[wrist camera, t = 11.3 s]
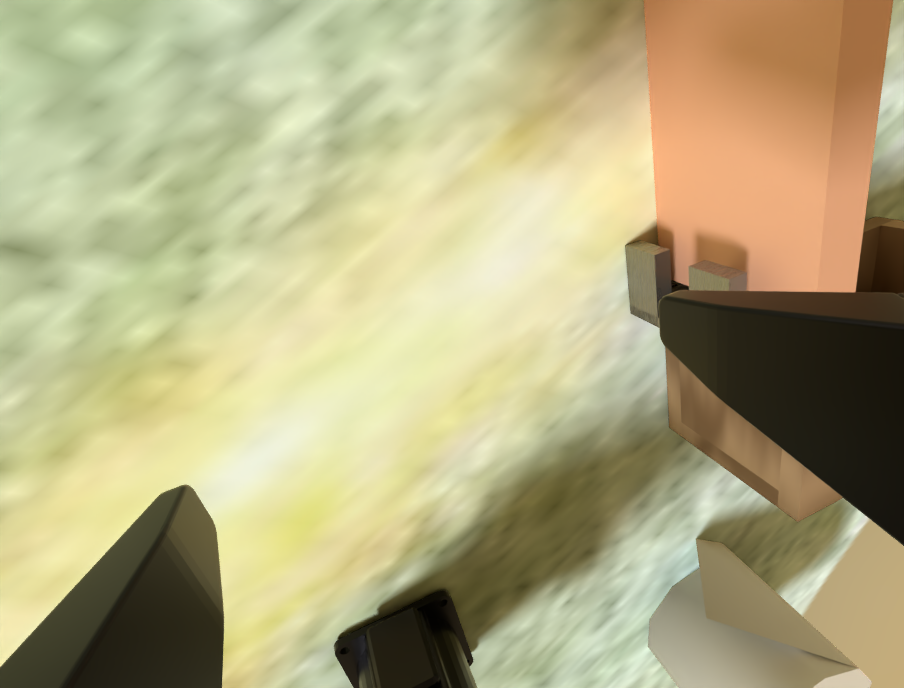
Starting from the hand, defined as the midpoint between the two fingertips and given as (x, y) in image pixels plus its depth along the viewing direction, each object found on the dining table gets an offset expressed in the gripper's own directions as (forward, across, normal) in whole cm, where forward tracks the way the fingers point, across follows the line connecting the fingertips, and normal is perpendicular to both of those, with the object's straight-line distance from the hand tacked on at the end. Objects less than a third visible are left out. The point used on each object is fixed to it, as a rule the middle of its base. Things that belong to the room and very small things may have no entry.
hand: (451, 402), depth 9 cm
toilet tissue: (+12, -16, +32) cm, 37 cm away
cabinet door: (+12, -15, 0) cm, 19 cm away
